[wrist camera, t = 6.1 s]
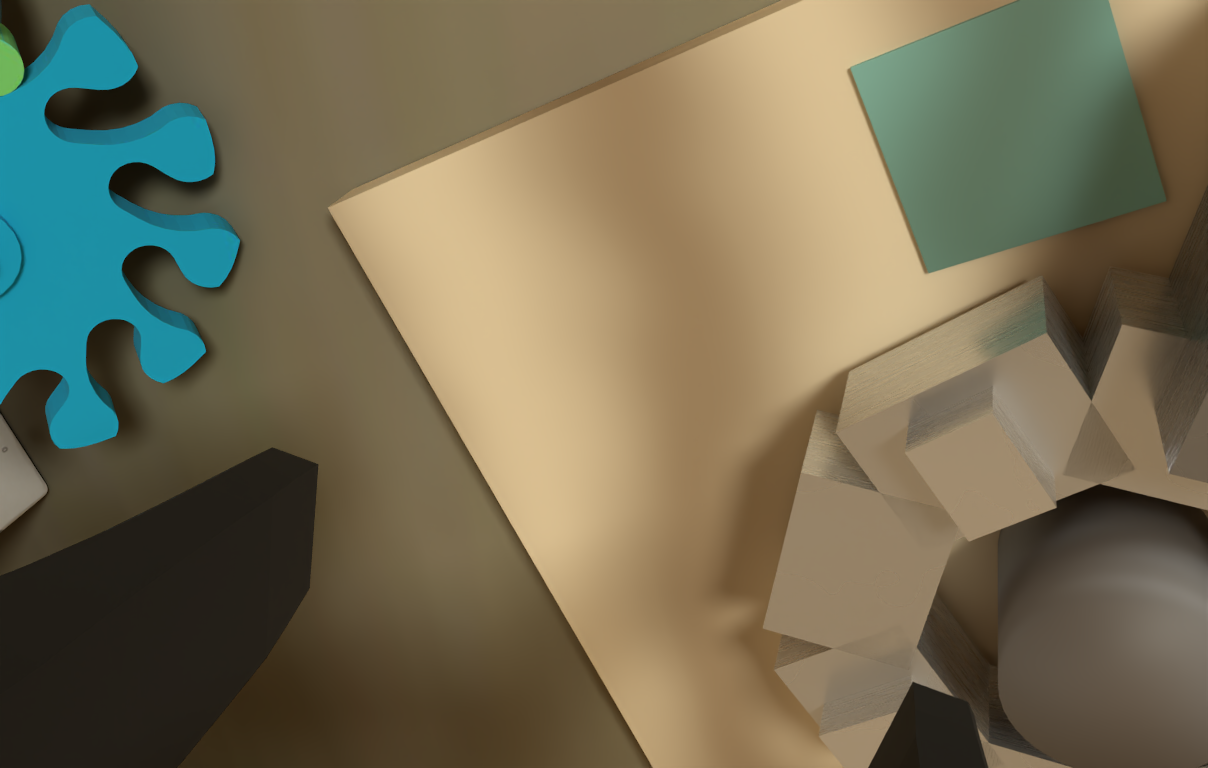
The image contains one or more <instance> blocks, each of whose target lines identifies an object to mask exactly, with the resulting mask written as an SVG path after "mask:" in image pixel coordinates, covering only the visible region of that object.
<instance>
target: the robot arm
mask: <svg viewBox="0 0 1208 768" xmlns="http://www.w3.org/2000/svg"><path fill="white" fill-rule="evenodd" d="M317 475H318V464H316V463H313V462H311V461H308V460H305V459H302V458H300V457H297V456H294V455H291V454H289V453H286V452H283V451H280V450H278V449H275V448H270V449H268V450H266V451H264V452H262V453H260V454H258V455H256V456H254V457H252V458H250V459H248V460H246V461H244V462H242V463H240V464H238V465H236V466H234V467H232V468H230V469H228V470H226V471H224V472H222V473H220V474H218V475H216V476H214V477H212V478H211V479H209V480H207V481H205V482H203V483H201V484H199V485H197V486H195V487H193V488H191V489H189V490H187V491H185V492H183V493H181V494H179V495H177V496H175V497H173V498H171V499H169V500H167V501H165V502H163V503H161V504H159V505H157V506H155V507H153V508H151V509H149V510H147V511H145V512H143V513H141V514H139V515H137V516H135V517H133V518H131V519H129V520H127V521H124V522H122V523H120V524H118V525H116V526H114V527H112V528H110V529H108V530H106V531H104V532H102V533H99V534H97V535H95V536H93V537H91V538H88V539H86V540H84V541H82V542H79V543H77V544H75V545H72V546H70V547H68V548H66V549H63V550H61V551H59V552H56V553H54V554H52V555H50V556H47V557H45V558H43V559H40V560H38V561H36V562H34V563H31V564H29V565H27V566H24V567H22V568H19V569H17V570H14V571H12V572H9V573H7V574H4V575H1V576H0V768H177V767H178V766H179V765H180V764H181V762H182V761H183V760H184V759H185V758H186V756H187V755H188V754H189V753H190V751H191V750H192V749H193V748H194V747H195V745H196V744H197V743H198V742H199V740H200V739H201V738H202V737H203V736H204V734H205V733H206V732H207V731H208V729H209V728H210V727H211V726H212V725H213V723H214V722H215V721H216V720H217V718H218V717H219V716H220V715H221V714H222V712H223V711H224V710H225V709H226V707H227V706H228V705H229V704H230V702H231V701H232V700H233V699H234V698H235V696H236V695H237V694H238V693H239V691H240V690H241V689H242V688H243V686H244V685H245V684H246V683H247V681H248V680H249V679H250V678H251V676H252V675H253V674H254V673H255V671H256V670H257V669H258V668H259V666H260V665H261V664H262V663H263V661H264V660H265V659H266V657H267V656H268V654H269V653H270V651H271V649H272V648H273V646H274V645H275V643H276V642H277V640H278V639H279V637H280V635H281V634H282V632H283V631H284V629H285V628H286V626H287V624H288V623H289V621H290V619H291V618H292V616H293V614H294V613H295V611H296V610H297V608H298V606H299V605H300V603H301V601H302V600H303V598H304V596H305V595H306V593H307V591H308V590H309V588H310V574H311V560H312V546H313V532H314V517H315V503H316V489H317ZM868 768H988V765H987V761H986V757H985V754H984V750H983V747H982V743H981V739H980V736H979V732H978V728H977V724H976V721H975V717H974V713H973V711H972V709H971V707H970V705H969V703H968V702H967V701H965V700H962V699H959V698H956V697H954V696H951V695H948V694H945V693H943V692H940V691H937V690H934V689H932V688H929V687H926V686H923V685H921V684H918V683H915V682H912V684H911V686H910V688H909V690H908V692H907V694H906V696H905V698H904V700H903V702H902V704H901V705H900V707H899V709H898V711H897V713H896V715H895V717H894V719H893V721H892V723H891V725H890V727H889V729H888V730H887V732H886V734H885V736H884V738H883V740H882V742H881V744H880V746H879V748H878V750H877V752H876V754H875V755H874V757H873V759H872V761H871V763H870V765H869V767H868Z"/></svg>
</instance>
